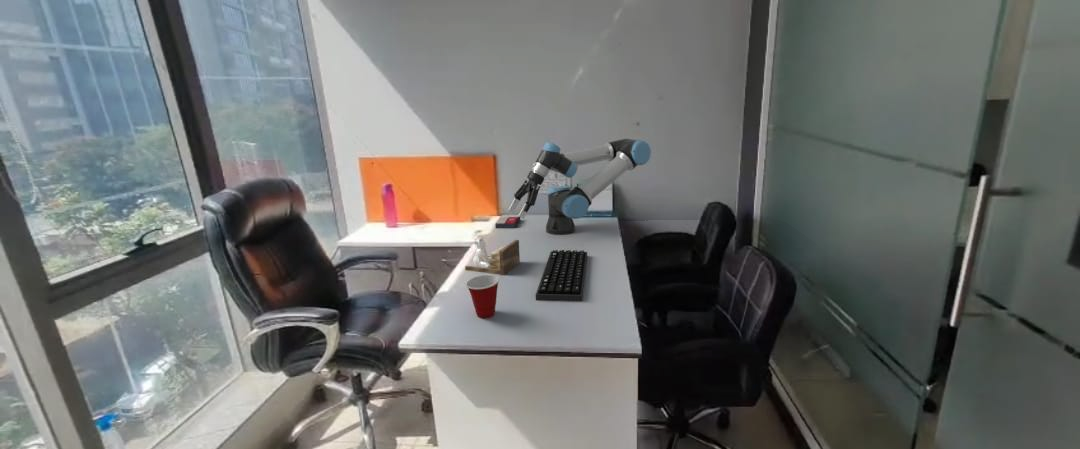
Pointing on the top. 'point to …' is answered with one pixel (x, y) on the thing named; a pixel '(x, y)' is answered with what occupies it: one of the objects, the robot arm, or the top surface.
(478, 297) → the plastic cup
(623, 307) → the top surface
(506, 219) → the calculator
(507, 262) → the walnut rack
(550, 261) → the computer keyboard
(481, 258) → the white creature statuette
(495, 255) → the offcut stack
